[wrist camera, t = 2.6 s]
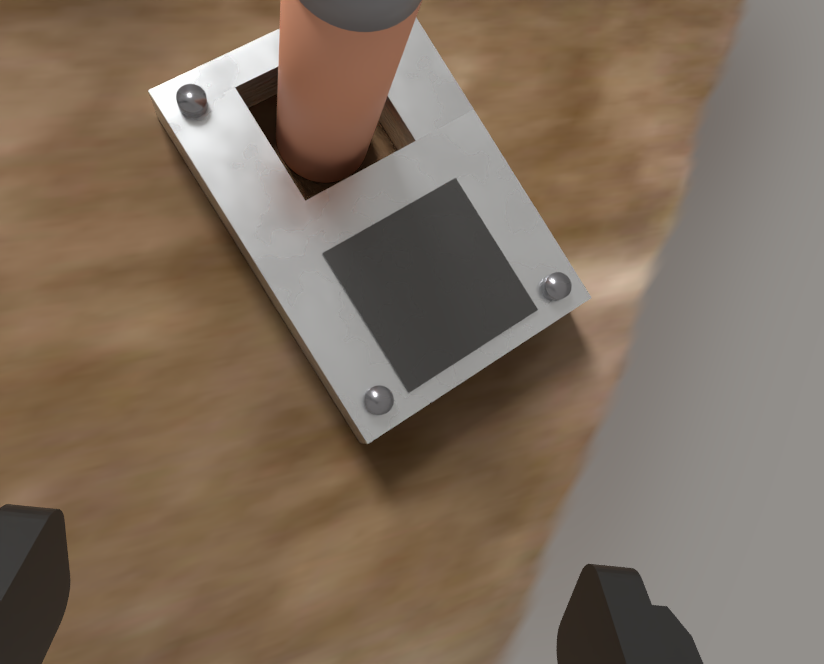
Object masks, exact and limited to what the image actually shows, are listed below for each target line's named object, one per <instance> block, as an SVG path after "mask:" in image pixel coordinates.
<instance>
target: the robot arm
mask: <svg viewBox="0 0 824 664" xmlns="http://www.w3.org/2000/svg"><path fill="white" fill-rule="evenodd" d="M69 591H70V571H69V561H68V551H67V541H66V531H65V522H64V515H63V513H62V511H61V510H60V509H51V508H41V507H31V506H21V505H11V504H6V505H4V506H2V507H1V508H0V664H42V662H43V660H44V657H45V655H46V653H47V651H48V649H49V647H50V645H51V642H52V640H53V638H54V636H55V634H56V632H57V630H58V627H59V625H60V623H61V621H62V618H63V615H64V612H65V609H66V606H67V602H68V597H69ZM557 660H558V664H703V662H702V660H701V657H700V655H699V652H698V650H697V648H696V645H695V643H694V640H693V638H692V636H691V635H690V634H689V632H688V631H687V630H686V629H685V628H684V626H683V625H682V624H681V623H680V621H679V620H678V619H677V618H676V617H675V615H674V614H673V613H672V612H671V611H670V609H669V608H668V607H667V606H656V605H652V604H651V601H650V599H649V596H648V594H647V591H646V589H645V586H644V584H643V581H642V578H641V576H640V575H639V573H638V572H637V571H636V570H635V569H633V568H625V567H615V566H605V565H595V564H587V565H586V566H585V567H584V568H583V569H582V572H581V574H580V576H579V579H578V581H577V584H576V586H575V589H574V591H573V593H572V596H571V598H570V601H569V603H568V605H567V608H566V610H565V613H564V616H563V618H562V620H561V623H560V626H559V629H558V635H557Z"/></svg>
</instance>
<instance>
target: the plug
mask: <svg viewBox="0 0 824 664" xmlns="http://www.w3.org/2000/svg"><path fill="white" fill-rule="evenodd" d="M421 3H422V0H281V6H280V35H279V64H278V93H277V122H276V143H277V147H278V150H279V153H280V155H281V157H282V159H283V160H284V162H285V163H286V164H287V165H288V167H289V168H290V169H291V170H293V171H294V172H295V173H296V174H298V175H300V176H301V177H303V178H305V179H308V180H311V181H315V182H322V183H329V182H336V181H339V180H342V179H344V178H347V177H348V176H350V175H351V174H353V173H354V172H355V171H356V170H357V169H358V168H359V167H360V165H361V164H362V162H363V161H364V158H365V156H366V154H367V151H368V148H369V145H370V143H371V140H372V137H373V134H374V132H375V129H376V126H377V123H378V121H379V118H380V115H381V112H382V110H383V107H384V104H385V101H386V99H387V96H388V93H389V90H390V88H391V85H392V82H393V79H394V77H395V74H396V71H397V68H398V66H399V63H400V60H401V57H402V55H403V52H404V49H405V46H406V44H407V41H408V38H409V35H410V33H411V30H412V27H413V24H414V22H415V19H416V16H417V13H418V11H419V8H420V5H421Z"/></svg>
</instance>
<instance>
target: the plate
mask: <svg viewBox="0 0 824 664" xmlns="http://www.w3.org/2000/svg"><path fill="white" fill-rule="evenodd" d="M279 35H280V29H278V30H276V31H273V32H271V33H269V34H267V35H265V36H263V37H261V38H259V39H256V40H254V41H252V42H250V43H248V44H246V45H244V46H242V47H239V48H237V49H235V50H233V51H231V52H229V53H227V54H225V55H222V56H220V57H218V58H216V59H214V60H212V61H210V62H208V63H205V64H203V65H201V66H199V67H197V68H195V69H193V70H191V71H188V72H186V73H184V74H182V75H180V76H178V77H176V78H174V79H171V80H169V81H167V82H165V83H163V84H161V85H159V86H156V87H154V88H152V89H150V90H148V91H149V94H150V97H151V100H152V103H153V106H154V109H155V112H156V115H157V117H158V119H159V120H160V122H161V124H162V125H163V127H164V129H165V130H166V132H167V133H168V135H169V137H170V138H171V140H172V141H173V143H174V145H175V146H176V148H177V149H178V151H179V153H180V154H181V156H182V158H183V159H184V161H185V162H186V164H187V166H188V167H189V169H190V170H191V172H192V174H193V175H194V177H195V178H196V180H197V182H198V183H199V185H200V187H201V188H202V190H203V191H204V193H205V195H206V196H207V198H208V199H209V201H210V203H211V204H212V206H213V207H214V209H215V211H216V212H217V214H218V216H219V217H220V219H221V220H222V222H223V224H224V225H225V227H226V228H227V230H228V232H229V233H230V235H231V236H232V238H233V240H234V241H235V243H236V244H237V246H238V248H239V249H240V251H241V253H242V254H243V256H244V257H245V259H246V261H247V262H248V264H249V265H250V267H251V269H252V270H253V272H254V273H255V275H256V277H257V278H258V280H259V282H260V283H261V285H262V286H263V288H264V290H265V291H266V293H267V294H268V296H269V298H270V299H271V301H272V302H273V304H274V306H275V307H276V309H277V311H278V312H279V314H280V315H281V317H282V319H283V320H284V322H285V323H286V325H287V327H288V328H289V330H290V331H291V333H292V335H293V336H294V338H295V339H296V341H297V343H298V344H299V346H300V348H301V349H302V351H303V352H304V354H305V356H306V357H307V359H308V360H309V362H310V364H311V365H312V367H313V368H314V370H315V372H316V373H317V375H318V377H319V378H320V380H321V381H322V383H323V385H324V386H325V388H326V389H327V391H328V393H329V394H330V396H331V397H332V399H333V401H334V402H335V404H336V406H337V407H338V409H339V410H340V412H341V414H342V415H343V417H344V418H345V420H346V422H347V423H348V425H349V426H350V428H351V430H352V431H353V433H354V435H355V436H356V438H357V439H358V441H359V443H364V444H369V443H370V442H372V441H373V440H375V439H376V438H378V437H379V436H381V435H382V434H384V433H386V432H387V431H389V430H390V429H392V428H393V427H395V426H396V425H398V424H399V423H401V422H402V421H404V420H405V419H407V418H408V417H410V416H412V415H413V414H415V413H416V412H418V411H419V410H421V409H422V408H424V407H425V406H427V405H428V404H430V403H431V402H433V401H434V400H436V399H438V398H439V397H441V396H442V395H444V394H445V393H447V392H448V391H450V390H451V389H453V388H454V387H456V386H457V385H459V384H460V383H462V382H464V381H465V380H467V379H468V378H470V377H471V376H473V375H474V374H476V373H477V372H479V371H480V370H482V369H483V368H485V367H486V366H488V365H490V364H491V363H493V362H494V361H496V360H497V359H499V358H500V357H502V356H503V355H505V354H506V353H508V352H509V351H511V350H512V349H514V348H516V347H517V346H519V345H520V344H522V343H523V342H525V341H526V340H528V339H529V338H531V337H532V336H534V335H535V334H537V333H538V332H540V331H542V330H543V329H545V328H546V327H548V326H549V325H551V324H552V323H554V322H555V321H557V320H558V319H560V318H561V317H563V316H564V315H566V314H568V313H569V312H571V311H572V310H574V309H575V308H577V307H578V306H580V305H581V304H583V303H584V302H586V301H587V300H589V299H590V298H591V296H590V294H589V293H588V291H587V290H586V288H585V286H584V285H583V283H582V282H581V280H580V278H579V277H578V275H577V274H576V272H575V271H574V269H573V267H572V266H571V264H570V263H569V261H568V259H567V258H566V256H565V255H564V253H563V251H562V250H561V248H560V247H559V245H558V243H557V242H556V240H555V239H554V237H553V235H552V234H551V232H550V231H549V229H548V227H547V226H546V224H545V223H544V221H543V219H542V218H541V216H540V215H539V213H538V211H537V210H536V208H535V207H534V205H533V203H532V202H531V200H530V199H529V197H528V195H527V194H526V192H525V191H524V189H523V187H522V186H521V184H520V183H519V181H518V179H517V178H516V176H515V175H514V173H513V171H512V170H511V168H510V167H509V165H508V163H507V162H506V160H505V159H504V157H503V155H502V154H501V152H500V151H499V149H498V147H497V146H496V144H495V143H494V141H493V139H492V138H491V136H490V135H489V133H488V131H487V130H486V128H485V127H484V125H483V123H482V122H481V120H480V119H479V117H478V115H477V114H476V112H475V111H474V109H473V107H472V106H471V104H470V103H469V101H468V99H467V98H466V96H465V95H464V93H463V92H462V90H461V88H460V87H459V85H458V84H457V82H456V80H455V79H454V77H453V76H452V74H451V72H450V71H449V69H448V68H447V66H446V64H445V63H444V61H443V60H442V58H441V56H440V55H439V53H438V52H437V50H436V48H435V47H434V45H433V44H432V42H431V40H430V39H429V37H428V36H427V34H426V32H425V31H424V29H423V28H422V26H421V24H420V23H419V21H418V20H417V18H416V19H415V22H414V24H413V27H412V30H411V33H410V35H409V38H408V41H407V44H406V46H405V49H404V52H403V55H402V57H401V60H400V63H399V66H398V68H397V71H396V74H395V77H394V79H393V82H392V85H391V88H390V90H389V93H388V96H387V99H386V101H385V104H384V107H383V110H382V112H381V115H380V118H379V122H380V123H381V125H382V126H383V128H384V130H385V131H386V133H387V134H388V136H389V138H390V139H391V141H392V142H393V144H394V146H395V147H396V149H397V150H398V151H396V152H394V153H392V154H391V155H389V156H387V157H385V158H383V159H381V160H380V161H378V162H376V163H374V164H372V165H370V166H369V167H367V168H365V169H363V170H361V171H359V172H357V173H356V174H354V175H352V176H350V177H348V178H346V179H345V180H343V181H341V182H339V183H337V184H335V185H333V186H332V187H330V188H328V189H326V190H324V191H322V192H321V193H319V194H317V195H315V196H313V197H311V198H310V199H308V200H306V201H305V199H304V198H303V196H302V194H301V193H300V191H299V190H298V188H297V186H296V185H295V183H294V182H293V180H292V178H291V177H290V175H289V174H288V172H287V170H286V169H285V167H284V165H283V164H282V162H281V161H280V159H279V157H278V156H277V154H276V153H275V151H274V149H273V148H272V146H271V145H270V143H269V141H268V140H267V138H266V137H265V135H264V133H263V132H262V130H261V129H260V127H259V125H258V124H257V122H256V120H255V119H254V117H253V116H252V114H251V112H250V111H249V109H248V108H250V107H252V106H254V105H256V104H258V103H260V102H262V101H264V100H266V99H268V98H270V97H272V96H274V95H276V94H277V93H278V64H279Z"/></svg>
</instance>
